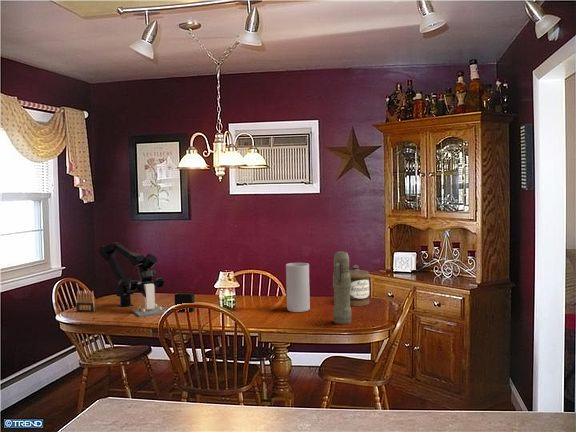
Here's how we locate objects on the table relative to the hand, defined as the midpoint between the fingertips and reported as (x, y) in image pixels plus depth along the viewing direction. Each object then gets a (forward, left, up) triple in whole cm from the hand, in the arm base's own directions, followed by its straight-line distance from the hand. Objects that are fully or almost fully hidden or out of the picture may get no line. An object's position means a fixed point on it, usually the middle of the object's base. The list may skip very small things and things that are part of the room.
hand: (150, 296), depth 316 cm
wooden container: (+77, +85, -9) cm, 115 cm away
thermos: (+96, +46, -9) cm, 107 cm away
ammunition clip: (-32, -21, -9) cm, 39 cm away
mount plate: (-1, 0, -9) cm, 9 cm away
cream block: (-1, 0, -7) cm, 7 cm away
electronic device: (+13, +13, -9) cm, 21 cm away
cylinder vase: (+61, +53, -9) cm, 81 cm away
